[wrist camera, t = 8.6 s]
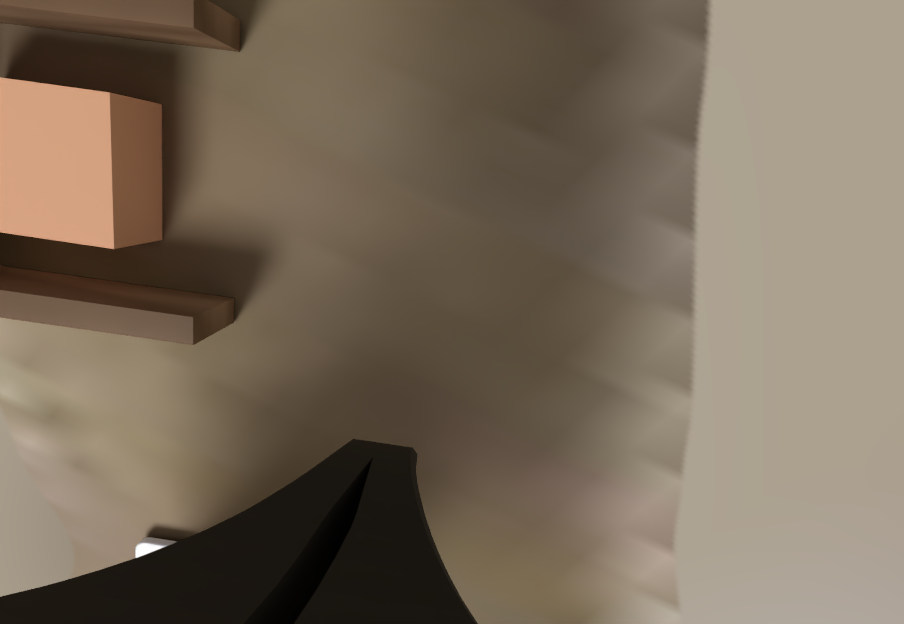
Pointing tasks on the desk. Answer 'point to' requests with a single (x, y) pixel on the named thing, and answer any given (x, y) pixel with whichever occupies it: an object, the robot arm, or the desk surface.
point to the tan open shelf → (101, 301)
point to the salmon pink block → (79, 165)
